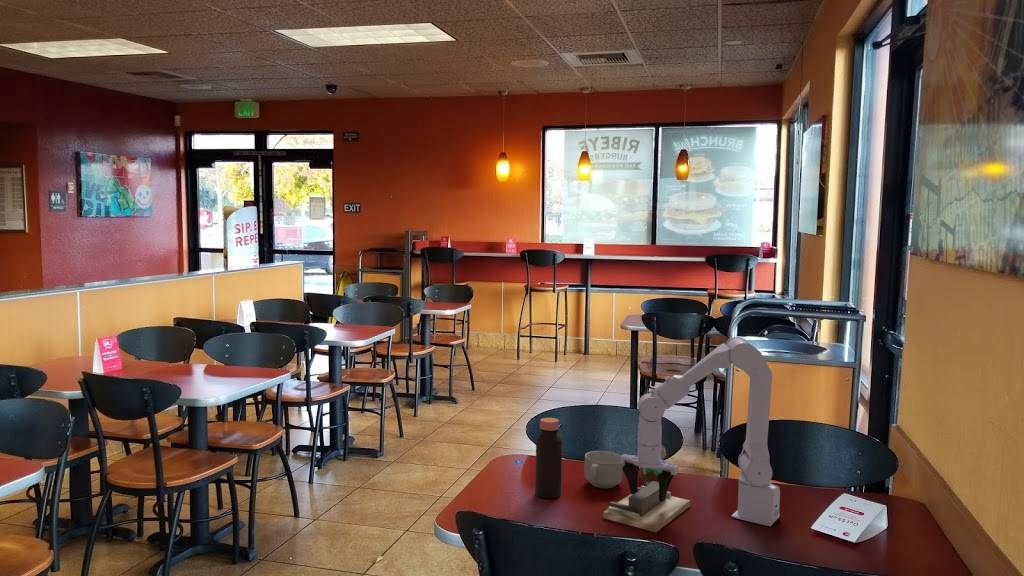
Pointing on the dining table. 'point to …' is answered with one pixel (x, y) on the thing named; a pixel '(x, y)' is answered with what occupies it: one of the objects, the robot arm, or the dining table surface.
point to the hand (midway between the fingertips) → (647, 496)
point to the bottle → (548, 460)
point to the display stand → (649, 513)
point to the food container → (652, 471)
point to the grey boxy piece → (642, 500)
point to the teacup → (603, 468)
